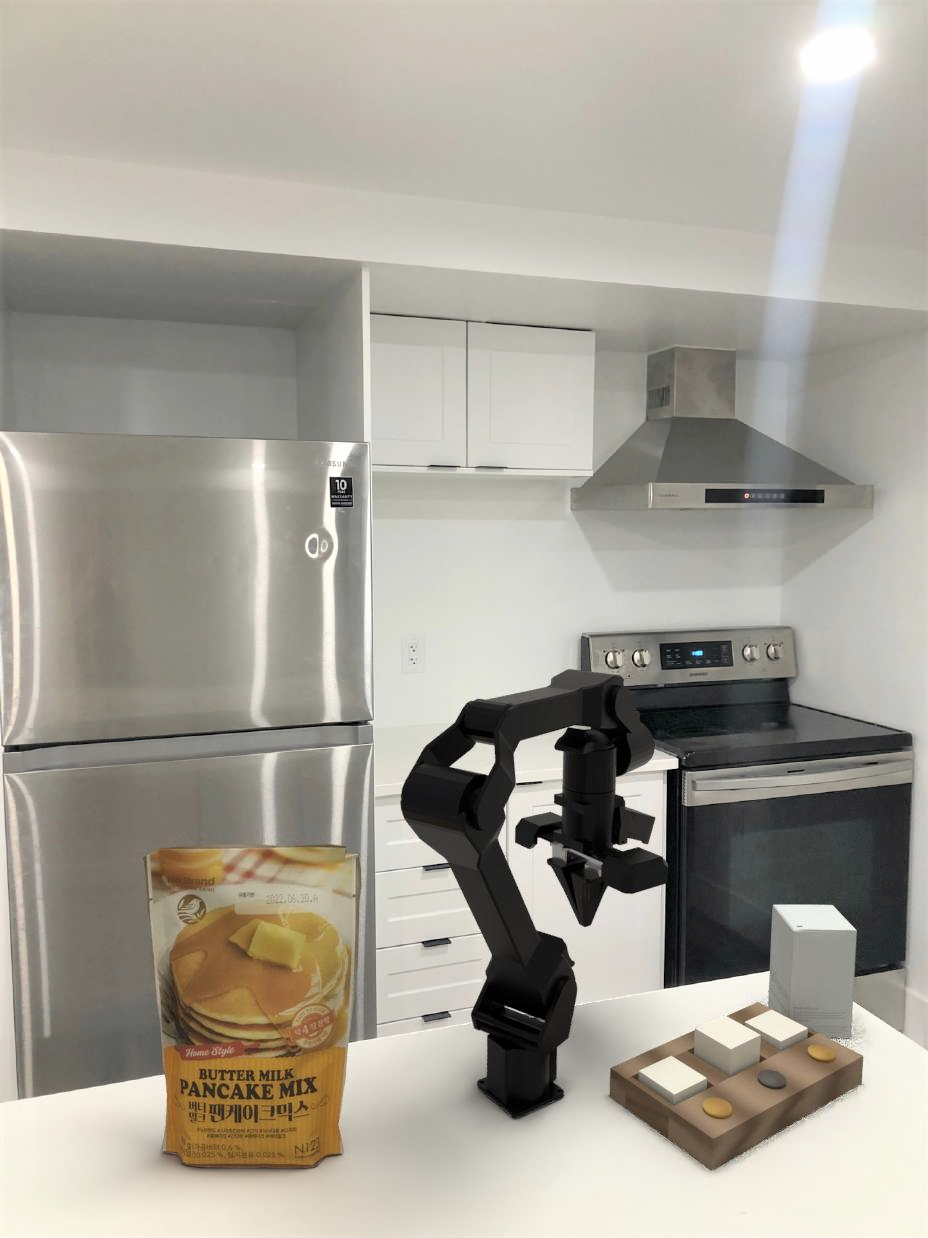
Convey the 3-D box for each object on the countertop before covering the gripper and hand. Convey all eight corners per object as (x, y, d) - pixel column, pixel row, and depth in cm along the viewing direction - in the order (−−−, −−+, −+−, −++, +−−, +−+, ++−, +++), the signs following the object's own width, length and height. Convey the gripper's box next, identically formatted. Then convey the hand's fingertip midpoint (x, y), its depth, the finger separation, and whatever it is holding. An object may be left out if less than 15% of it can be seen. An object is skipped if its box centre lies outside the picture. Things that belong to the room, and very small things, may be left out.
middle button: (729, 1080, 93) (730, 1049, 92) (693, 1058, 96) (694, 1028, 96) (759, 1064, 95) (760, 1035, 95) (723, 1044, 99) (724, 1015, 99)
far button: (779, 1071, 98) (780, 1041, 97) (743, 1050, 101) (744, 1022, 101) (806, 1056, 100) (808, 1028, 100) (770, 1037, 104) (771, 1009, 104)
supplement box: (853, 1039, 104) (859, 931, 103) (786, 1038, 105) (791, 929, 103) (828, 1005, 112) (834, 903, 110) (766, 1004, 112) (771, 902, 111)
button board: (712, 1170, 83) (713, 1134, 83) (609, 1096, 94) (610, 1064, 93) (861, 1083, 96) (863, 1052, 96) (756, 1027, 107) (758, 998, 106)
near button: (673, 1126, 88) (674, 1094, 88) (637, 1101, 92) (638, 1071, 92) (705, 1109, 91) (707, 1078, 91) (670, 1085, 95) (671, 1056, 94)
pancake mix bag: (162, 1121, 89) (154, 835, 86) (363, 1124, 89) (362, 838, 86) (137, 1171, 82) (128, 862, 79) (354, 1173, 82) (354, 864, 79)
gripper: (706, 796, 98) (701, 938, 100) (585, 757, 113) (582, 882, 115) (630, 814, 92) (625, 966, 94) (513, 771, 107) (510, 902, 109)
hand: (585, 925), depth 103 cm, fingers closed
